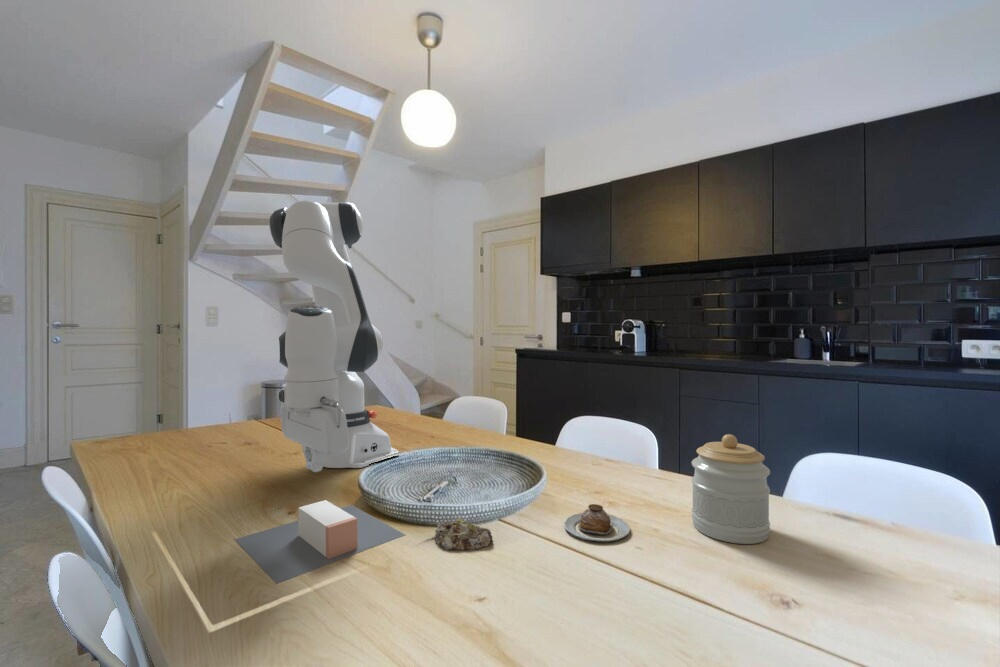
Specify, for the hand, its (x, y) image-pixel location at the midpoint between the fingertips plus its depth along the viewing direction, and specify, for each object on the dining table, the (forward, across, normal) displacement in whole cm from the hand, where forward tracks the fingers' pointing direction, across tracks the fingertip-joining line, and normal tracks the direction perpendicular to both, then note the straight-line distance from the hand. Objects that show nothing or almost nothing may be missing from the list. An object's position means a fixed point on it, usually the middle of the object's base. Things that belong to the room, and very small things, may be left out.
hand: (314, 469), depth 85 cm
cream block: (+8, 0, +1) cm, 8 cm away
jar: (+12, -55, -53) cm, 78 cm away
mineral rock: (+12, -22, -16) cm, 30 cm away
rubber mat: (+12, -4, +1) cm, 12 cm away
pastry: (+13, -37, -37) cm, 53 cm away
